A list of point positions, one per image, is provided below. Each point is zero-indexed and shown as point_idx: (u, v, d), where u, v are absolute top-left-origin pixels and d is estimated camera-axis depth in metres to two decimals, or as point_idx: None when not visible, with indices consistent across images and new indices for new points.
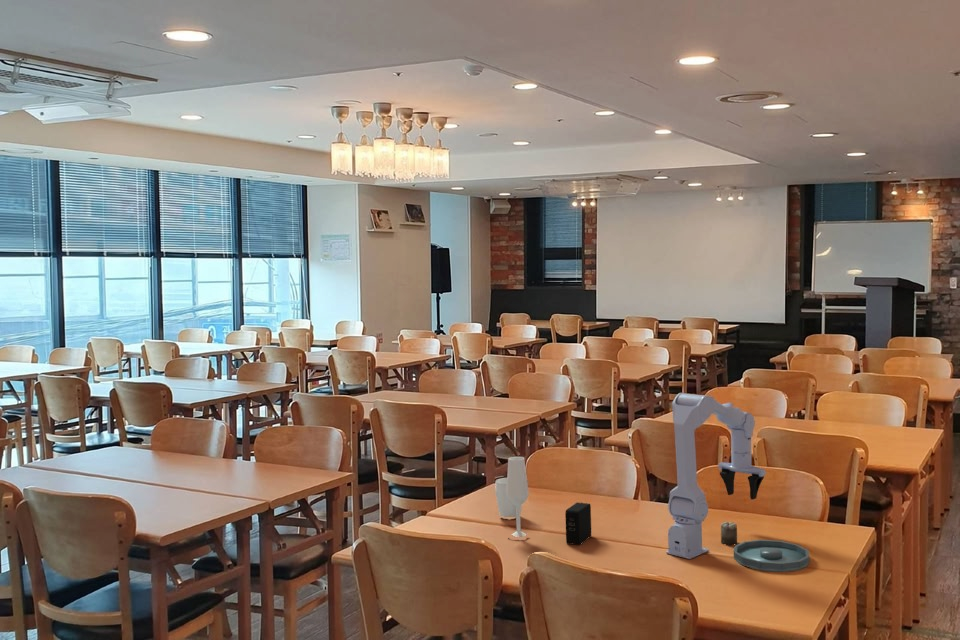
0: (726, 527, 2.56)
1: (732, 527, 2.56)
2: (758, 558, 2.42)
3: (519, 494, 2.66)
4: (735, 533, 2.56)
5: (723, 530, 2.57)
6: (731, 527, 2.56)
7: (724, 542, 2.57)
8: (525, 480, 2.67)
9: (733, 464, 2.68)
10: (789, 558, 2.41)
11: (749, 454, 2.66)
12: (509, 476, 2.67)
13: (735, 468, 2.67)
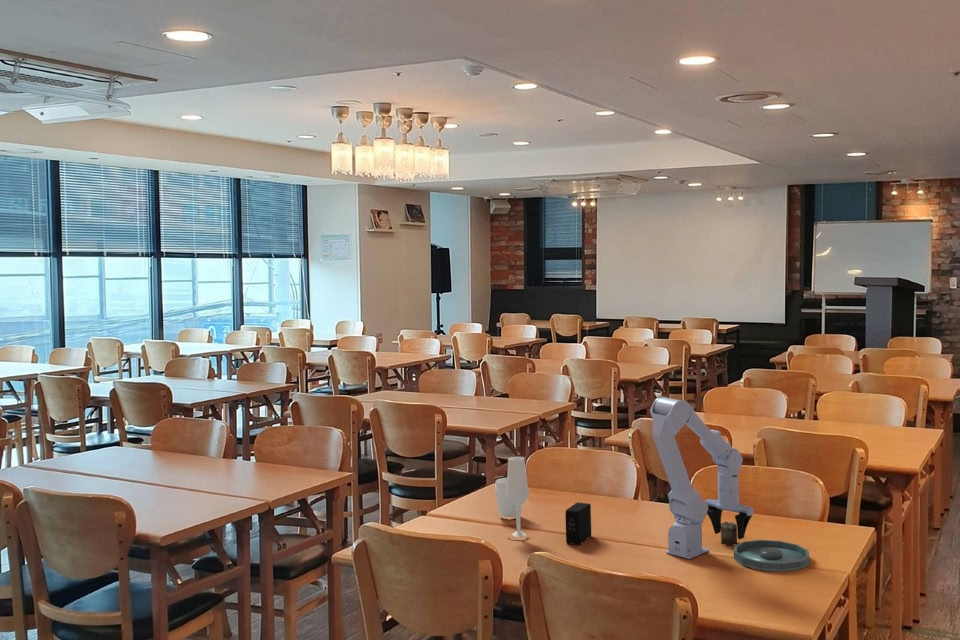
0: (726, 527, 2.56)
1: (732, 527, 2.56)
2: (758, 558, 2.42)
3: (519, 494, 2.66)
4: (735, 533, 2.56)
5: (723, 530, 2.57)
6: (731, 527, 2.56)
7: (724, 542, 2.57)
8: (525, 480, 2.67)
9: (720, 502, 2.56)
10: (789, 558, 2.41)
11: (736, 492, 2.55)
12: (509, 476, 2.67)
13: (722, 506, 2.56)
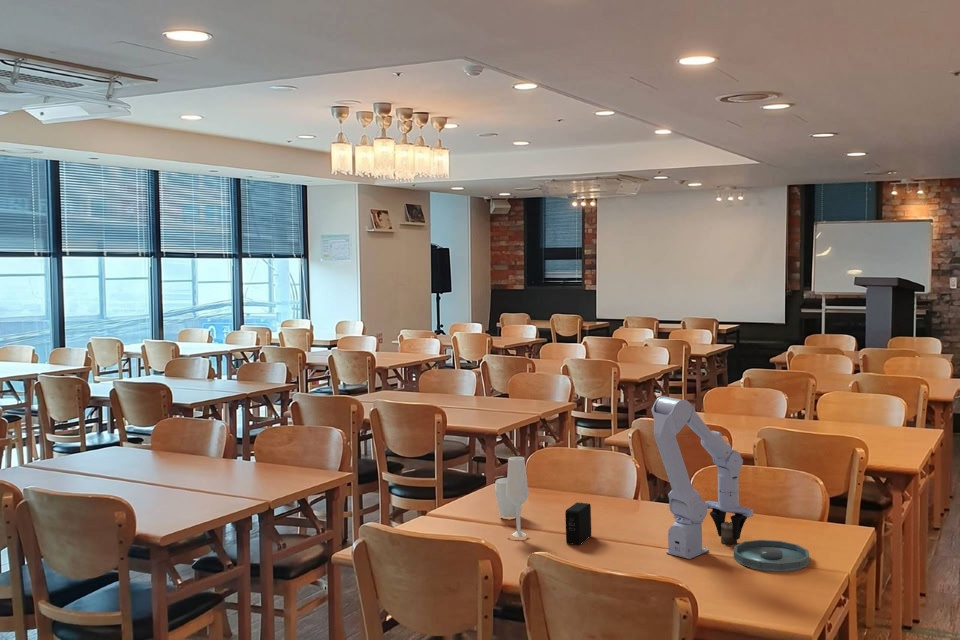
0: (726, 527, 2.56)
1: (732, 527, 2.56)
2: (758, 558, 2.42)
3: (519, 494, 2.66)
4: None
5: (723, 530, 2.57)
6: (731, 527, 2.56)
7: (724, 542, 2.57)
8: (525, 480, 2.67)
9: (720, 504, 2.56)
10: (789, 558, 2.41)
11: (736, 493, 2.55)
12: (509, 476, 2.67)
13: (722, 508, 2.56)
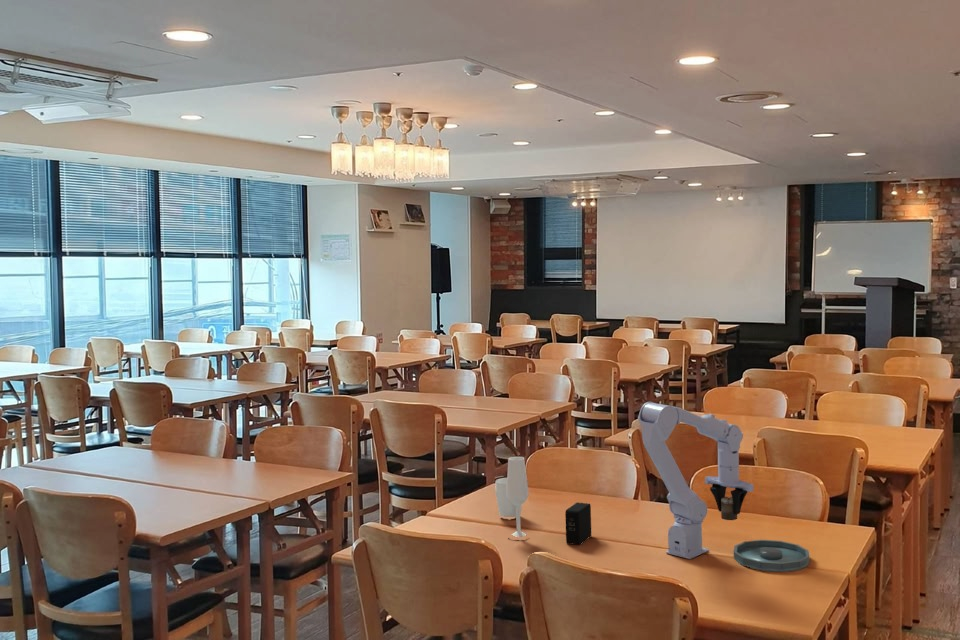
0: (726, 502, 2.56)
1: (732, 502, 2.55)
2: (758, 558, 2.42)
3: (519, 494, 2.66)
4: None
5: (723, 505, 2.56)
6: (731, 502, 2.55)
7: (724, 517, 2.56)
8: (525, 480, 2.67)
9: (720, 478, 2.56)
10: (789, 558, 2.41)
11: (736, 468, 2.54)
12: (509, 476, 2.67)
13: (722, 483, 2.55)
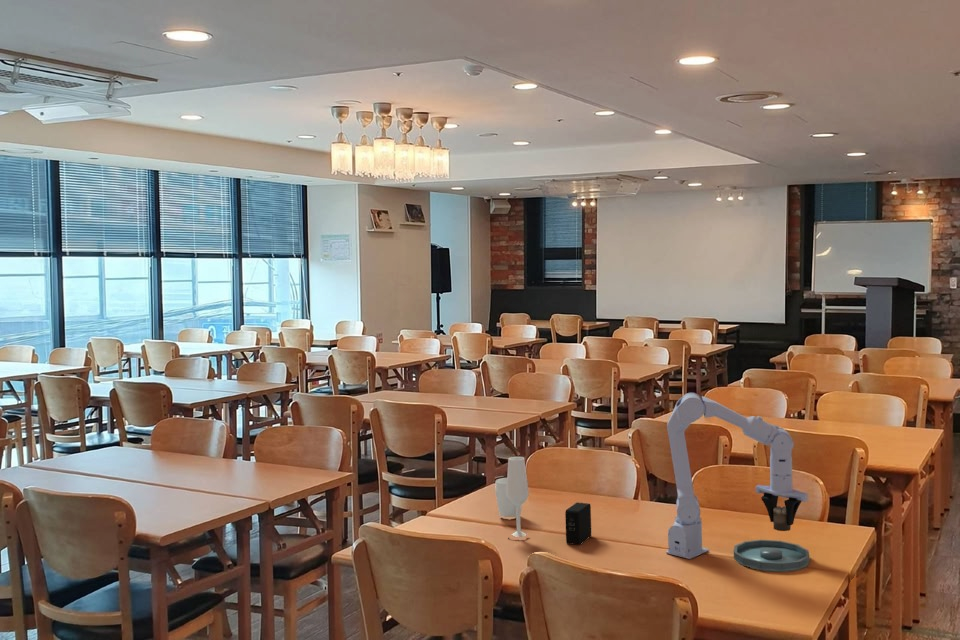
0: (779, 512, 2.44)
1: None
2: (758, 558, 2.42)
3: (519, 494, 2.66)
4: None
5: (776, 515, 2.45)
6: (784, 512, 2.44)
7: (777, 528, 2.45)
8: (525, 480, 2.67)
9: (772, 487, 2.45)
10: (789, 558, 2.41)
11: (790, 477, 2.43)
12: (509, 476, 2.67)
13: (775, 492, 2.44)
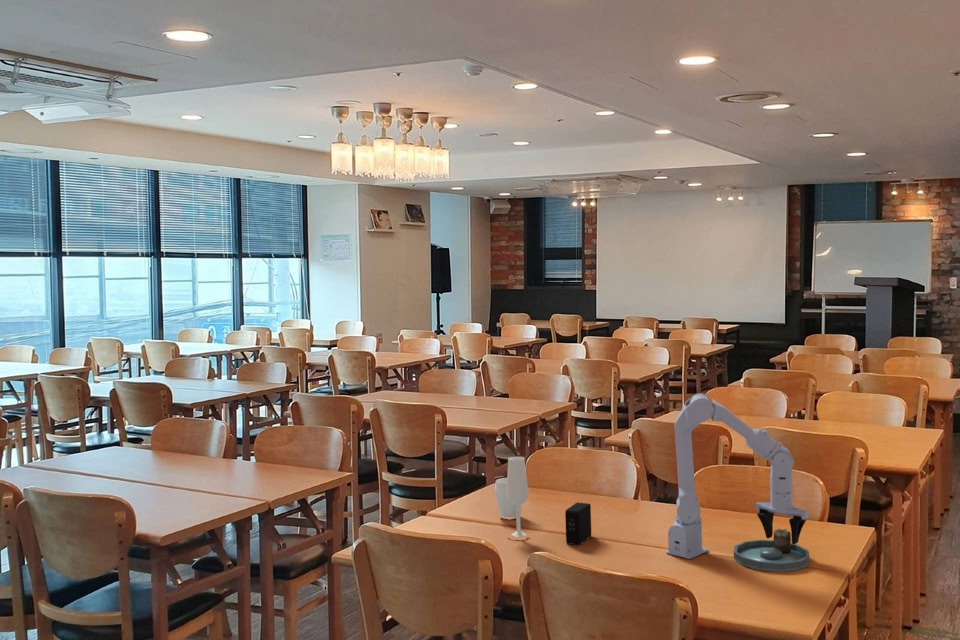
0: (779, 535, 2.45)
1: (786, 535, 2.44)
2: (758, 558, 2.42)
3: (519, 494, 2.66)
4: (789, 541, 2.45)
5: (776, 538, 2.46)
6: (785, 535, 2.44)
7: None
8: (525, 480, 2.67)
9: (772, 505, 2.45)
10: (789, 558, 2.41)
11: (790, 494, 2.44)
12: (509, 476, 2.67)
13: (775, 510, 2.44)
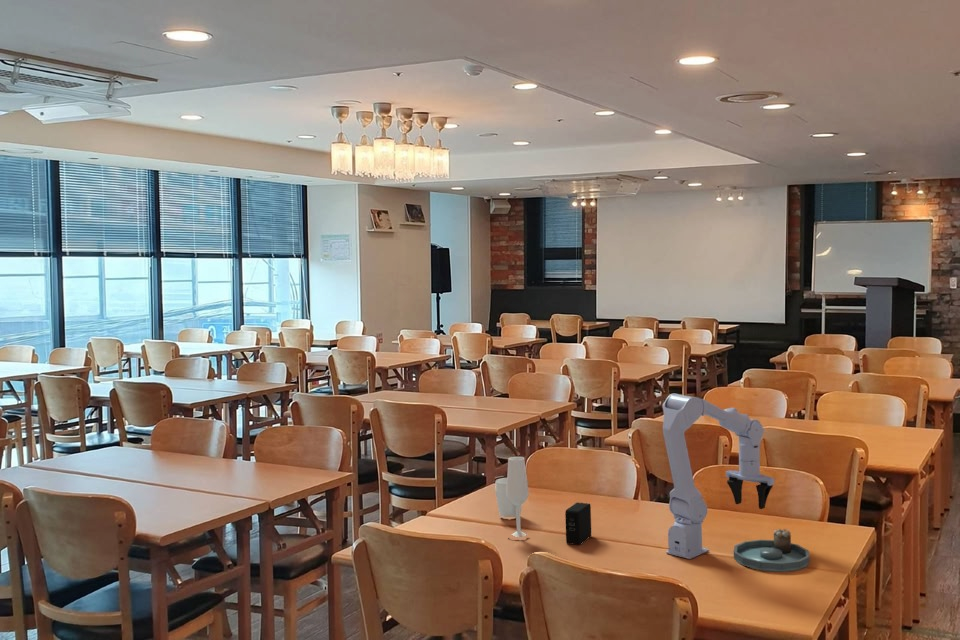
0: (779, 535, 2.45)
1: (786, 535, 2.44)
2: (758, 558, 2.42)
3: (519, 494, 2.66)
4: (789, 541, 2.45)
5: (776, 538, 2.46)
6: (785, 535, 2.44)
7: None
8: (525, 480, 2.67)
9: (741, 472, 2.60)
10: (789, 558, 2.41)
11: (757, 462, 2.58)
12: (509, 476, 2.67)
13: (743, 477, 2.59)
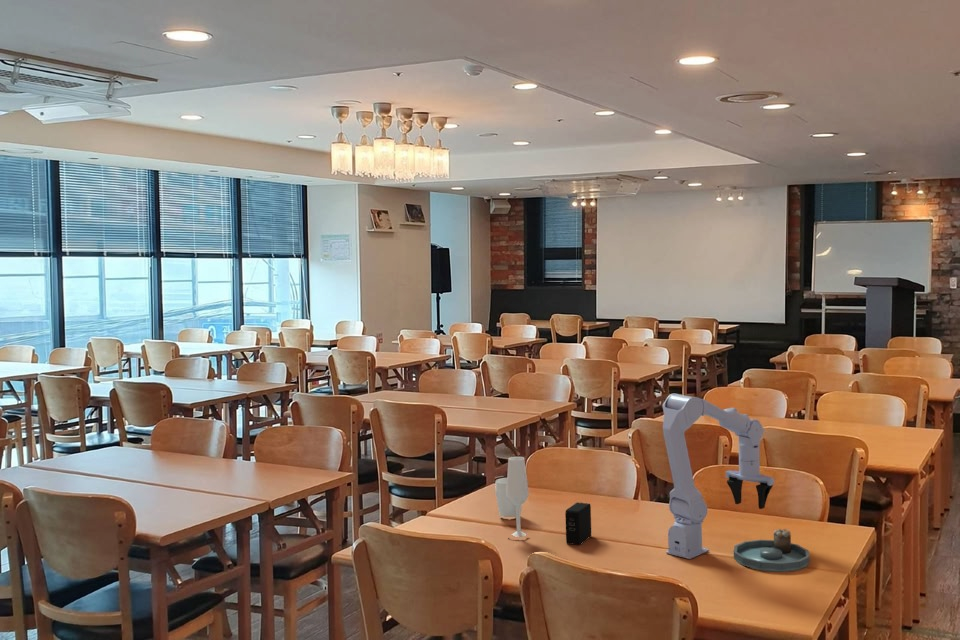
0: (780, 535, 2.45)
1: (786, 535, 2.45)
2: (758, 558, 2.42)
3: (519, 494, 2.66)
4: (789, 541, 2.45)
5: (776, 538, 2.46)
6: (785, 535, 2.45)
7: None
8: (525, 480, 2.67)
9: (741, 472, 2.60)
10: (789, 558, 2.41)
11: (757, 462, 2.58)
12: (509, 476, 2.67)
13: (743, 477, 2.59)
